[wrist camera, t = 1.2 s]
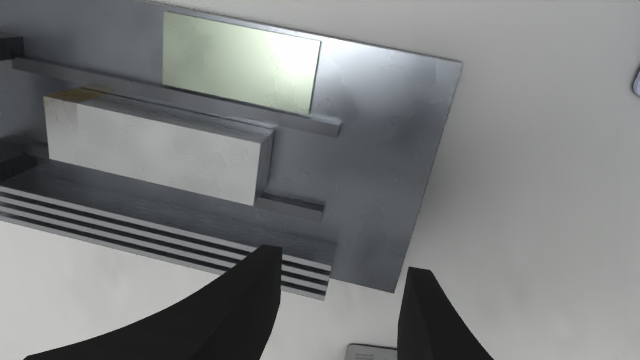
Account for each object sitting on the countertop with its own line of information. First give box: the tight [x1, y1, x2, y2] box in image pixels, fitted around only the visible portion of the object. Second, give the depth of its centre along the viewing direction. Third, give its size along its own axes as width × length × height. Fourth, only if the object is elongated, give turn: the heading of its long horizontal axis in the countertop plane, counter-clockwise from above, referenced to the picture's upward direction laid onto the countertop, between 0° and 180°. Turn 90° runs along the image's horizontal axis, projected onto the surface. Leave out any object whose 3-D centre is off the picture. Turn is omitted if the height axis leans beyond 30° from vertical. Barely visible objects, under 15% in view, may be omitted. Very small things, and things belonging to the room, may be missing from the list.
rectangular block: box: [43, 88, 274, 206], centre depth 20 cm, size 10×3×2 cm, turn 80°
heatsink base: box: [0, 0, 463, 301], centre depth 20 cm, size 25×12×5 cm, turn 80°
